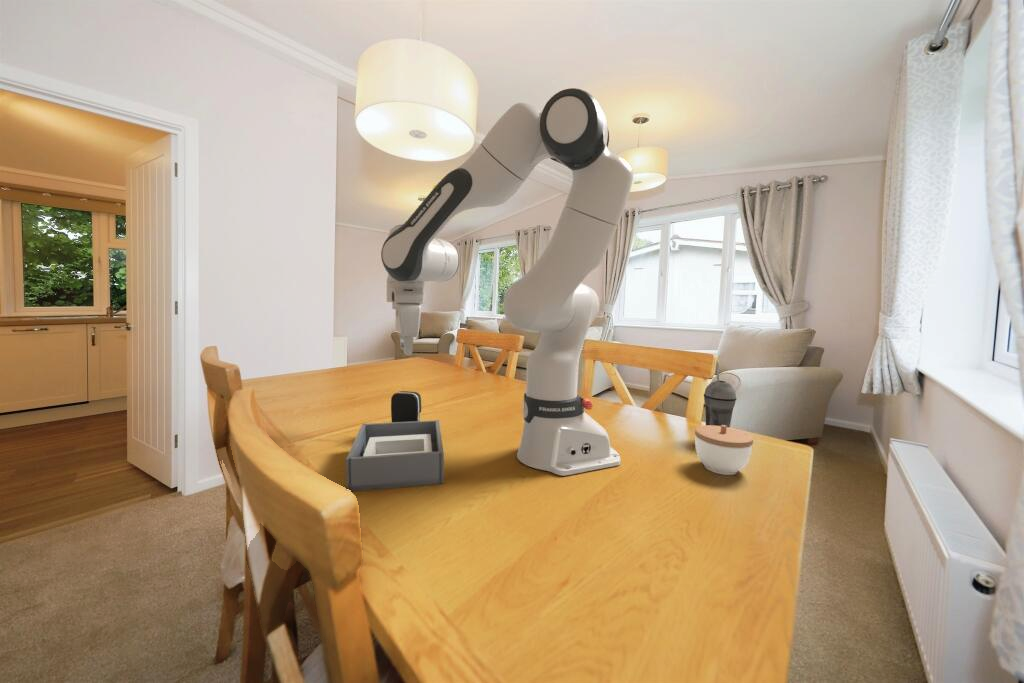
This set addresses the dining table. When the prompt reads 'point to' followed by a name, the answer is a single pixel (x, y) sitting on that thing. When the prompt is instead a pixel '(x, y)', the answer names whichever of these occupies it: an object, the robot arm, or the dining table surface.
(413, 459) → the socket box
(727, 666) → the dining table surface
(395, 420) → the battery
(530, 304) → the robot arm
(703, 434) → the lidded jar
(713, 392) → the beverage cup
